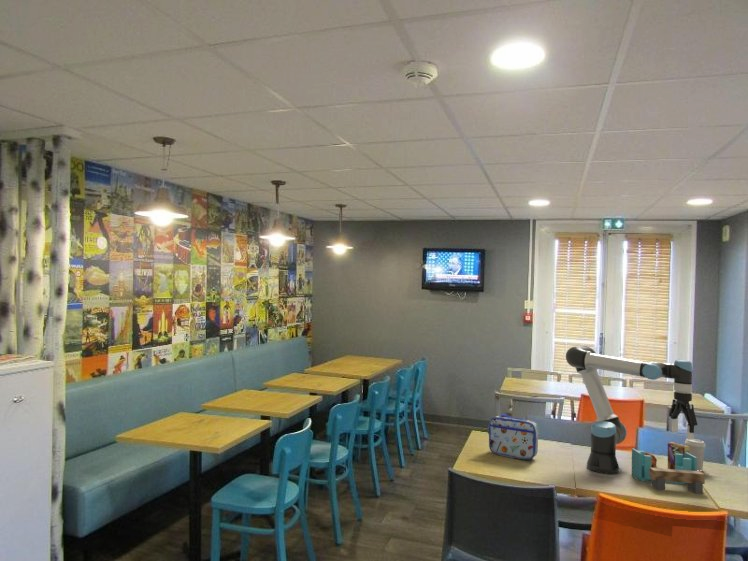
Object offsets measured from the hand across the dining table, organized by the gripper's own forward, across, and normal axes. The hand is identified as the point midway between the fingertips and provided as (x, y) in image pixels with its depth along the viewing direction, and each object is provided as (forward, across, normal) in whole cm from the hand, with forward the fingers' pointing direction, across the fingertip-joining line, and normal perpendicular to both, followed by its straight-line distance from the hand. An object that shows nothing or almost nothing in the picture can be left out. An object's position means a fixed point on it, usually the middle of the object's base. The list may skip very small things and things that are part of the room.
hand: (682, 435), depth 242 cm
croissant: (+22, +25, +5) cm, 34 cm away
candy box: (+22, +10, -4) cm, 24 cm away
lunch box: (+23, +25, +77) cm, 84 cm away
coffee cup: (+22, +21, -18) cm, 35 cm away
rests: (+22, -14, +10) cm, 27 cm away
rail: (+18, -14, +10) cm, 24 cm away
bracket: (+22, -1, +9) cm, 24 cm away
